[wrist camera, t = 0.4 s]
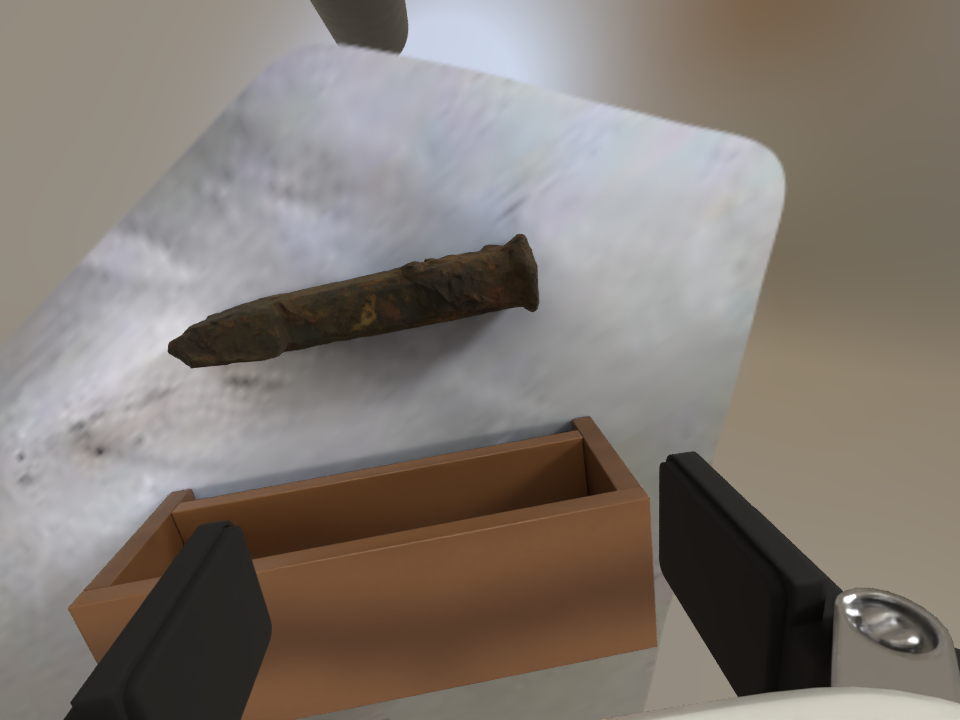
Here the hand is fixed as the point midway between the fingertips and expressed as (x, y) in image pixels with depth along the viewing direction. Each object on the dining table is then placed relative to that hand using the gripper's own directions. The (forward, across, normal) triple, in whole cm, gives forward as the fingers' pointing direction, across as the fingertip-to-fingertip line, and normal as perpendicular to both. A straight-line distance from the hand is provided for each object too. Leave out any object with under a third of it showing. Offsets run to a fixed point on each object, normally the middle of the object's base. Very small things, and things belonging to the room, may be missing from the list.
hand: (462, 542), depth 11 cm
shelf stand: (+18, +4, +12) cm, 22 cm away
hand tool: (+19, +4, -2) cm, 19 cm away
